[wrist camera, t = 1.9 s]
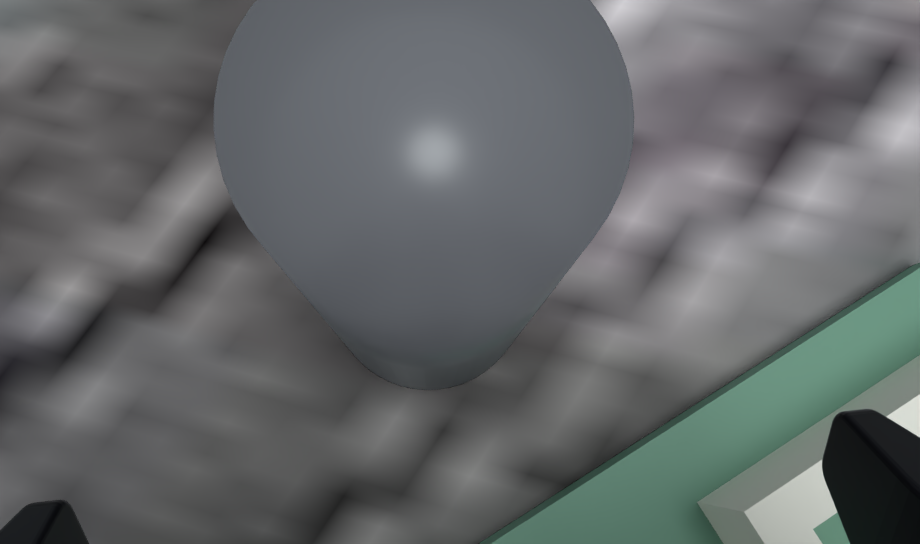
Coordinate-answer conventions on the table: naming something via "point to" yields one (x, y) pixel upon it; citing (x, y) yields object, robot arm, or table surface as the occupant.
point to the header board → (750, 443)
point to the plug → (424, 164)
